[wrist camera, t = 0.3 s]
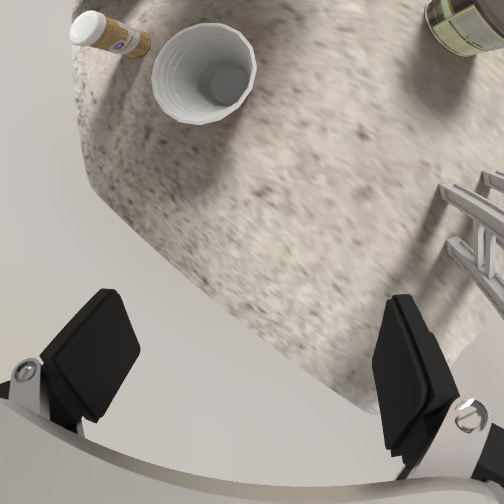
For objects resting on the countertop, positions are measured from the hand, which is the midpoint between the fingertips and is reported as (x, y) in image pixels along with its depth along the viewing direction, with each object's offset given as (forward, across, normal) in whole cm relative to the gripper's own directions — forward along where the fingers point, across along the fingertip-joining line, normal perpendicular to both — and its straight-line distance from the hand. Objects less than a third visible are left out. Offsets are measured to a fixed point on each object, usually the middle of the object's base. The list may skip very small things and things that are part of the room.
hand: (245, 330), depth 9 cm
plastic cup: (+31, +7, -12) cm, 34 cm away
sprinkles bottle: (+31, +20, -22) cm, 43 cm away
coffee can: (+31, -27, -24) cm, 48 cm away
